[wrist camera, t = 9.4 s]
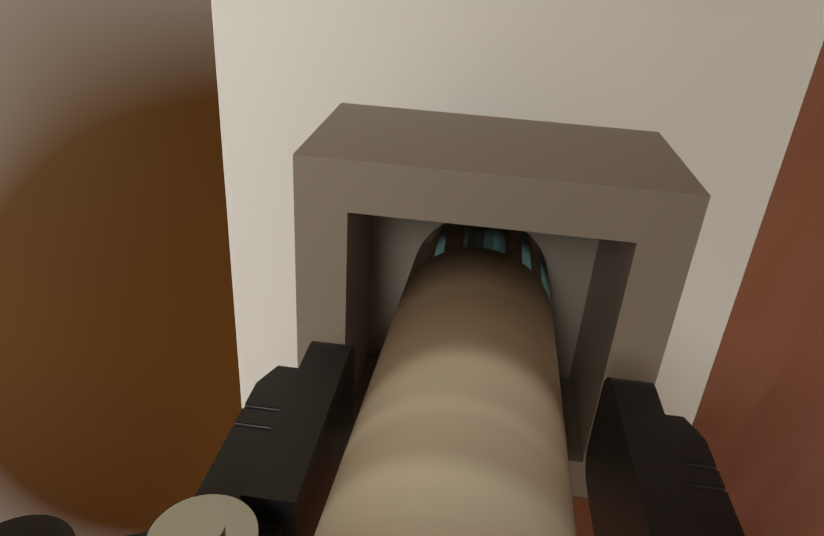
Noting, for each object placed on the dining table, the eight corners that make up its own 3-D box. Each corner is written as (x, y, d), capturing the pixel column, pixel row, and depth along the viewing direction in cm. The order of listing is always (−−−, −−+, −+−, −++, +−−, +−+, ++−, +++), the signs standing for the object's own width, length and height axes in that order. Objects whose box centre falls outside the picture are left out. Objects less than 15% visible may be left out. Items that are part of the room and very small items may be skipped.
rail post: (417, 207, 15) (152, 816, 4) (558, 223, 15) (683, 935, 4) (408, 327, 16) (190, 1030, 5) (537, 345, 16) (582, 1132, 5)
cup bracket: (218, -205, 17) (-34, -332, 9) (864, -169, 16) (1247, -277, 8) (256, 403, 26) (149, 609, 18) (662, 455, 25) (739, 701, 17)
